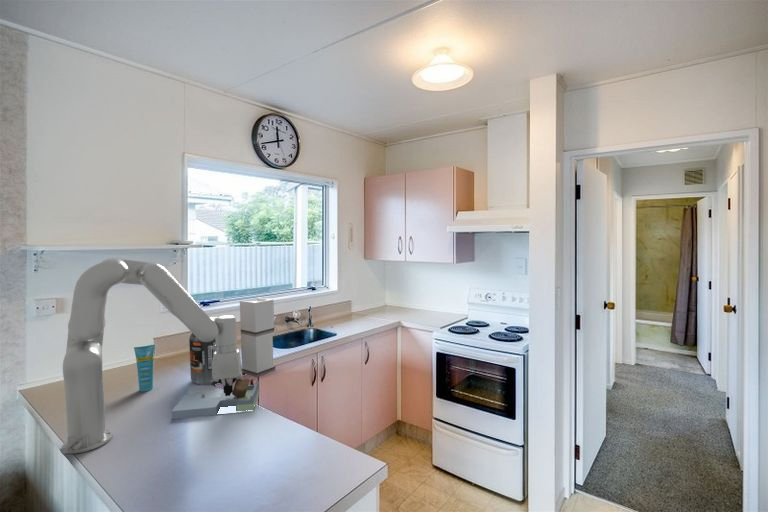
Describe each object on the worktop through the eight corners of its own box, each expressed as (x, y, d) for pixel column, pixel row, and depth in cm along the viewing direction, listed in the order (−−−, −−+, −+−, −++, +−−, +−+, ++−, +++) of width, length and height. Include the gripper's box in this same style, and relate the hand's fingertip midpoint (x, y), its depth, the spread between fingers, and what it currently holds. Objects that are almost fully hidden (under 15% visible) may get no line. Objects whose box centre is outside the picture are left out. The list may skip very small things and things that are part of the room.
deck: (253, 411, 141) (252, 395, 140) (172, 419, 136) (171, 402, 135) (259, 395, 156) (258, 380, 155) (186, 401, 150) (185, 386, 150)
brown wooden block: (246, 397, 147) (251, 382, 147) (233, 396, 144) (238, 381, 144) (243, 392, 151) (248, 377, 151) (230, 391, 148) (235, 376, 148)
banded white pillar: (275, 370, 184) (273, 299, 182) (257, 377, 175) (254, 302, 173) (260, 366, 190) (258, 297, 188) (242, 372, 182) (239, 300, 180)
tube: (136, 393, 159) (133, 348, 158) (136, 389, 163) (133, 345, 162) (156, 389, 163) (154, 345, 162) (156, 385, 167) (154, 342, 166)
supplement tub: (187, 378, 175) (184, 323, 174) (222, 370, 185) (220, 318, 184) (196, 388, 163) (193, 329, 162) (233, 379, 173) (231, 323, 172)
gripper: (202, 352, 140) (205, 400, 141) (245, 349, 143) (246, 396, 144) (208, 346, 147) (210, 392, 148) (248, 344, 150) (250, 389, 151)
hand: (228, 394), depth 146 cm, fingers closed
